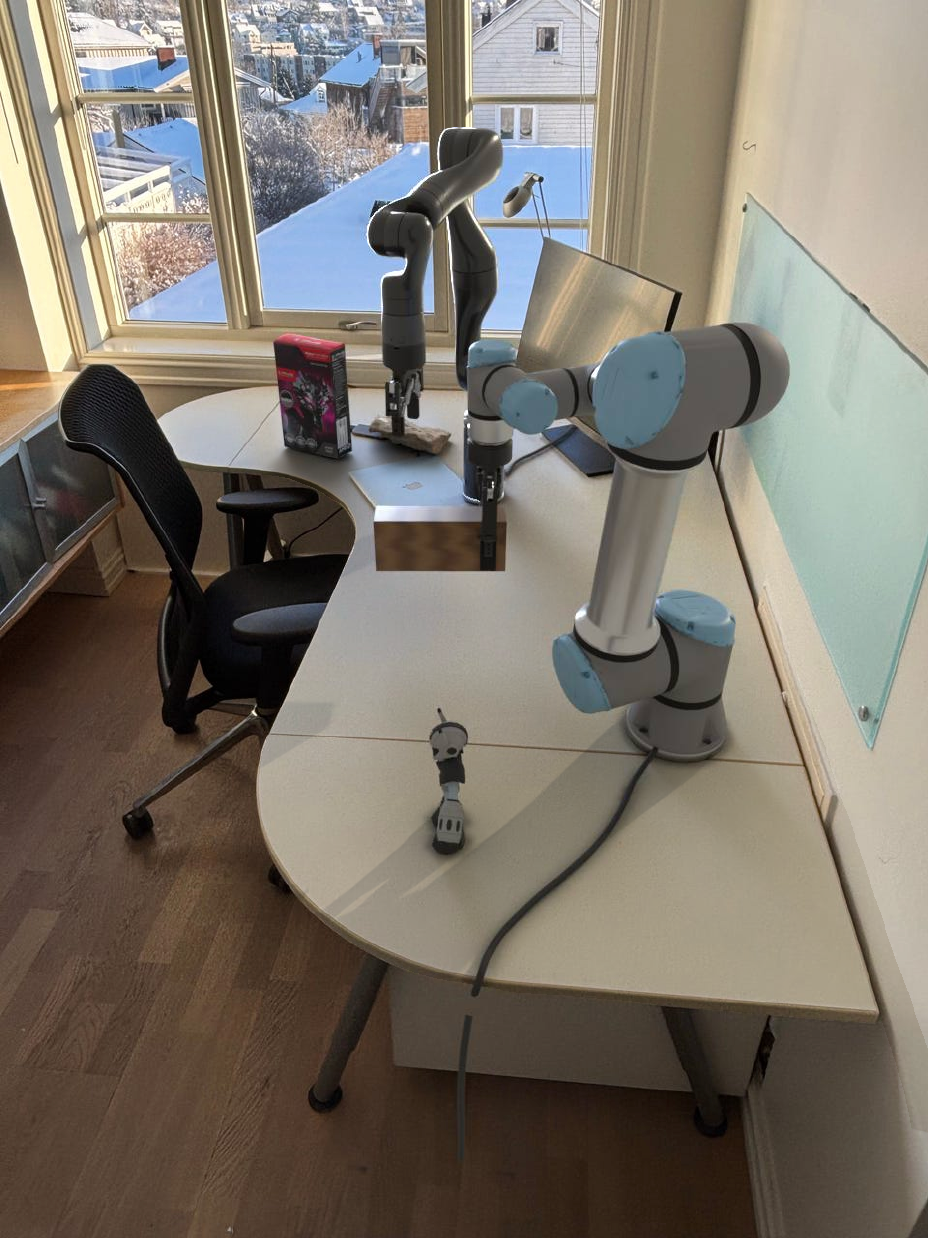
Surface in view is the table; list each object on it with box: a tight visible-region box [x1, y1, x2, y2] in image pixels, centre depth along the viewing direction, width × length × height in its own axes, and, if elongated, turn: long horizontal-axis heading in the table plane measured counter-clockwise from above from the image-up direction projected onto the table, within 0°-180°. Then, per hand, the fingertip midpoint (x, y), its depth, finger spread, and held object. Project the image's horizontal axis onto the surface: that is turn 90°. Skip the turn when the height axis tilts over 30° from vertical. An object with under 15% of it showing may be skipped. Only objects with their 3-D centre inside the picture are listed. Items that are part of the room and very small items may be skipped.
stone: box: [368, 414, 452, 455], centre depth 233 cm, size 21×15×6 cm
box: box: [372, 505, 508, 572], centre depth 161 cm, size 23×6×10 cm, turn 90°
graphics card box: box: [272, 332, 353, 460], centre depth 223 cm, size 17×7×27 cm, turn 62°
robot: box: [428, 707, 469, 855], centre depth 120 cm, size 20×5×20 cm, turn 3°
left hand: (406, 426), depth 167 cm, fingers open, 8 cm apart
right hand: (487, 560), depth 164 cm, fingers closed on box, 6 cm apart
